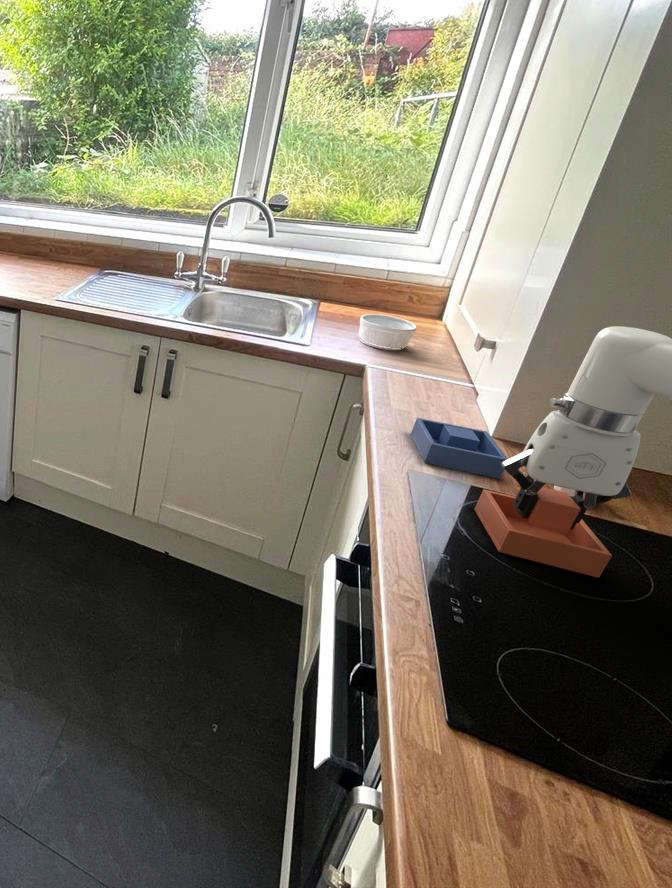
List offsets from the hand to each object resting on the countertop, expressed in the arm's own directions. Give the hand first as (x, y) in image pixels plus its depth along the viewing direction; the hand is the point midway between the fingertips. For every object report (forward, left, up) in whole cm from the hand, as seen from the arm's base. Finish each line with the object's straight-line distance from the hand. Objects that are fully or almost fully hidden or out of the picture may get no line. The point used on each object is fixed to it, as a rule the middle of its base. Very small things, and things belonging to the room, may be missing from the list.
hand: (543, 517), depth 89 cm
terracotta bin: (0, 0, -4) cm, 4 cm away
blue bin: (+25, +4, -4) cm, 26 cm away
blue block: (+25, +4, -4) cm, 26 cm away
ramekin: (+91, +5, -5) cm, 91 cm away
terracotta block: (0, 0, -1) cm, 1 cm away
